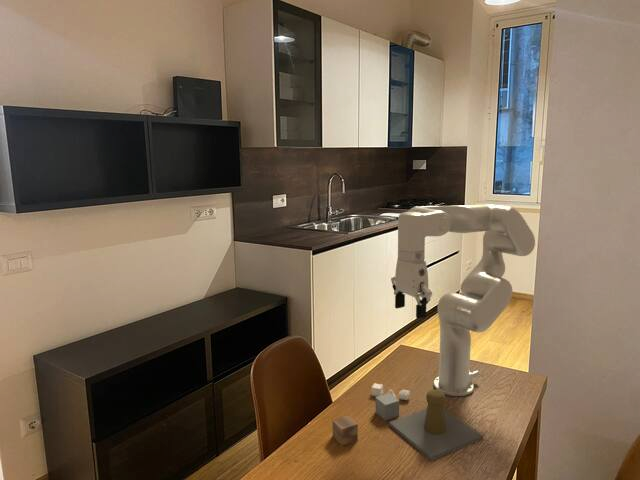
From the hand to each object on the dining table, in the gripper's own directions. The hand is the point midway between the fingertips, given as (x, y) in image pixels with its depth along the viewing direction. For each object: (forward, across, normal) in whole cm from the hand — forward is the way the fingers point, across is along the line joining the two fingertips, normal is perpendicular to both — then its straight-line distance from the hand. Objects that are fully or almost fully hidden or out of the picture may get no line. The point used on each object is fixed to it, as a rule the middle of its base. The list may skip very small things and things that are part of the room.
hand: (410, 312), depth 142 cm
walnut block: (+30, -4, +25) cm, 40 cm away
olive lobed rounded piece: (+30, -14, +2) cm, 33 cm away
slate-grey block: (+30, 0, +8) cm, 31 cm away
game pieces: (+31, +8, +1) cm, 32 cm away
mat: (+30, -14, +2) cm, 33 cm away
